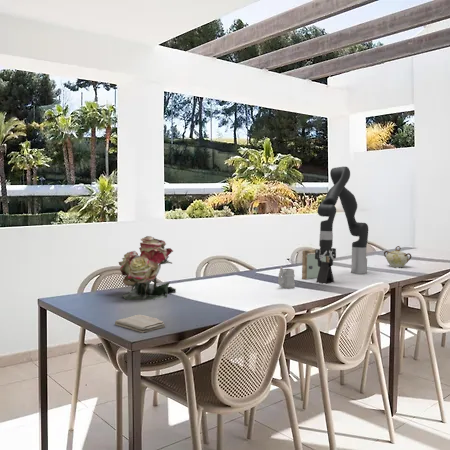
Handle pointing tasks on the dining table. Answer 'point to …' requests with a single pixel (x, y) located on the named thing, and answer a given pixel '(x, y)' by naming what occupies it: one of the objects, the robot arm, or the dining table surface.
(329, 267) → the phone stand
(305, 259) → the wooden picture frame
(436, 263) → the dining table surface
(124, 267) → the rose bouquet
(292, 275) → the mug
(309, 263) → the door
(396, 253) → the sugar bowl
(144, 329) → the washcloth
